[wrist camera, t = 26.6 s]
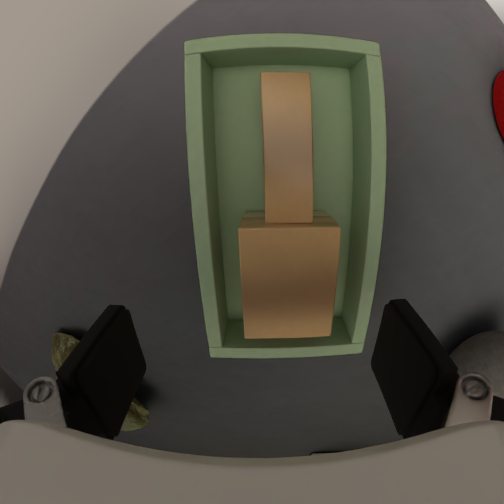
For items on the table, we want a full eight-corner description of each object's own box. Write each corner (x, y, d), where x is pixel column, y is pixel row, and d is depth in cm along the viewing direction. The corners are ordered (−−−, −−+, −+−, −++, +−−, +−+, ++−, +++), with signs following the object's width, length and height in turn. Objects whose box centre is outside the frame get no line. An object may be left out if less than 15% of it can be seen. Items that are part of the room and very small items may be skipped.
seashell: (33, 327, 19) (56, 423, 13) (101, 305, 23) (143, 391, 17) (68, 386, 24) (99, 461, 18) (121, 367, 29) (160, 436, 23)
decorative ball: (436, 401, 22) (468, 469, 13) (402, 366, 20) (443, 458, 11) (503, 341, 20) (549, 399, 10) (485, 288, 17) (555, 356, 8)
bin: (200, 60, 13) (184, 40, 10) (357, 61, 13) (379, 42, 9) (218, 323, 19) (210, 357, 16) (348, 320, 19) (362, 353, 15)
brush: (238, 86, 13) (230, 69, 10) (323, 86, 13) (339, 70, 10) (248, 304, 18) (244, 339, 14) (320, 302, 18) (330, 336, 14)
